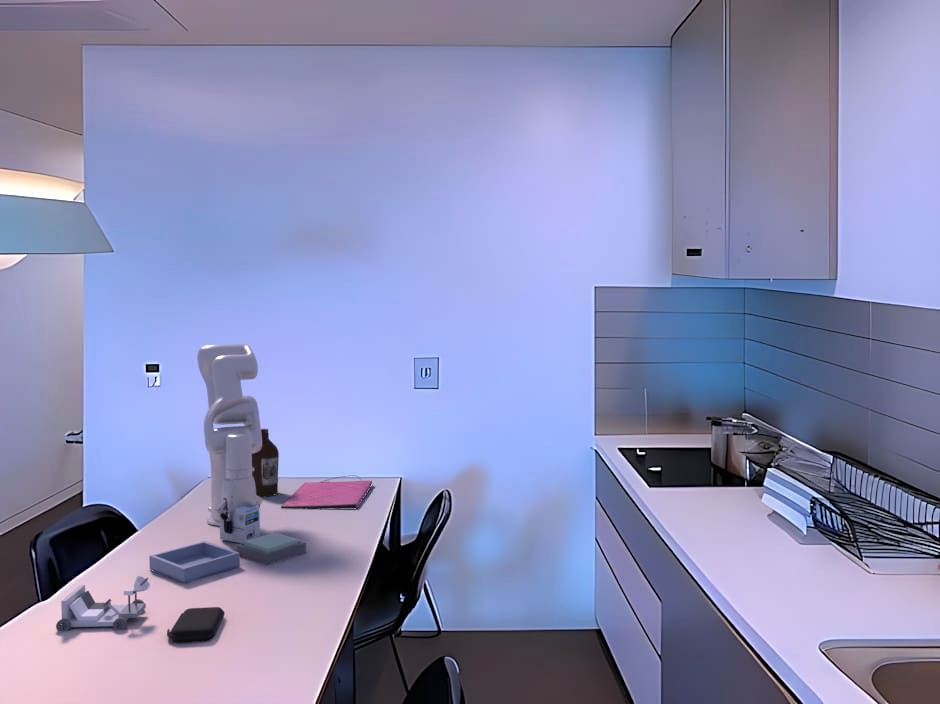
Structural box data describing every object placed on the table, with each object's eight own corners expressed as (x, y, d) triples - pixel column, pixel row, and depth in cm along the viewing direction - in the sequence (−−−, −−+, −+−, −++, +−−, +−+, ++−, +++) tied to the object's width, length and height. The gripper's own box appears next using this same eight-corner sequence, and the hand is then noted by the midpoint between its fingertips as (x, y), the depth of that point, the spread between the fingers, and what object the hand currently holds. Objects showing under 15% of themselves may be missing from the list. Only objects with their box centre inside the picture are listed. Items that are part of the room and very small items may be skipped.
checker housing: (236, 555, 227) (236, 544, 226) (276, 543, 238) (275, 533, 237) (266, 565, 218) (266, 554, 218) (305, 552, 229) (305, 542, 229)
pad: (243, 546, 227) (243, 541, 227) (275, 537, 235) (274, 532, 235) (267, 553, 220) (267, 548, 220) (298, 544, 228) (298, 539, 228)
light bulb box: (260, 538, 242) (260, 504, 241) (245, 544, 236) (245, 509, 235) (234, 533, 246) (233, 500, 246) (218, 539, 240) (218, 505, 239)
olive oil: (245, 493, 300) (244, 429, 298) (270, 489, 307) (269, 426, 305) (259, 498, 292) (258, 432, 290) (284, 494, 299) (283, 429, 298)
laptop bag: (356, 500, 277) (280, 501, 278) (356, 511, 277) (281, 512, 278) (374, 474, 317) (307, 475, 318) (374, 484, 317) (308, 485, 318)
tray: (149, 570, 214) (149, 555, 214) (205, 554, 227) (204, 541, 227) (184, 584, 203) (183, 568, 203) (239, 566, 216) (239, 552, 216)
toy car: (155, 570, 186) (137, 588, 174) (156, 611, 187) (138, 631, 175) (77, 572, 185) (54, 590, 173) (78, 612, 185) (55, 633, 174)
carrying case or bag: (178, 619, 182) (162, 646, 167) (178, 606, 181) (161, 632, 167) (226, 616, 183) (213, 644, 168) (225, 604, 183) (213, 630, 168)
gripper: (255, 466, 249) (256, 521, 250) (206, 476, 235) (207, 534, 236) (270, 470, 244) (270, 525, 245) (221, 480, 230) (222, 539, 232)
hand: (239, 529), depth 241 cm, fingers closed on light bulb box, 7 cm apart
